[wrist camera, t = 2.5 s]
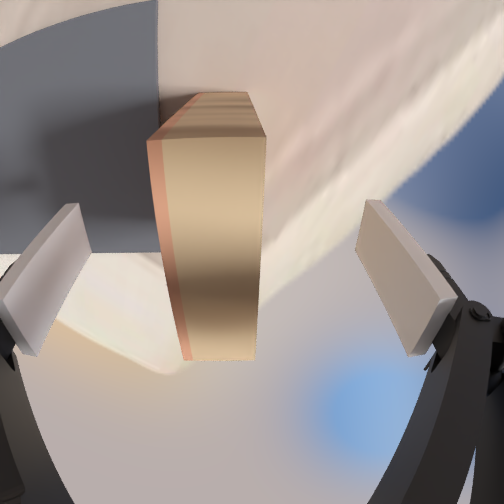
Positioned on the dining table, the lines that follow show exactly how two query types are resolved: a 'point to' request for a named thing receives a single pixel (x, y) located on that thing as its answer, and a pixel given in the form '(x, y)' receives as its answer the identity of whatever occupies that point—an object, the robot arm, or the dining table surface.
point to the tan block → (211, 222)
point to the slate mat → (81, 129)
